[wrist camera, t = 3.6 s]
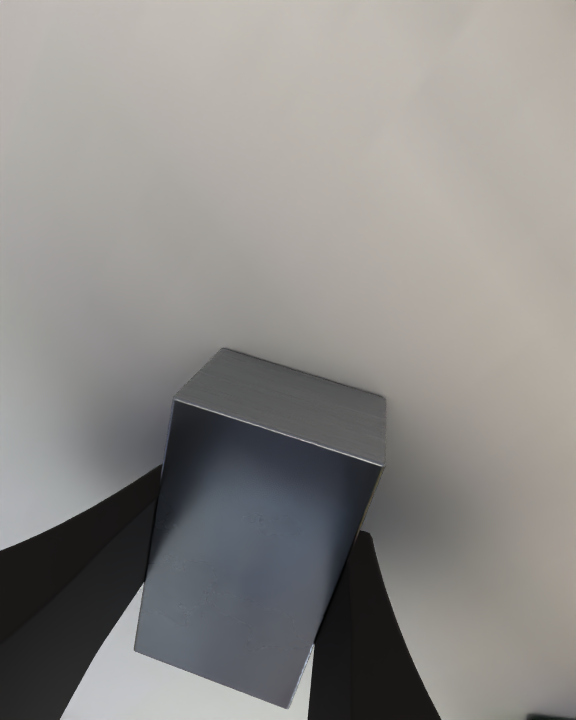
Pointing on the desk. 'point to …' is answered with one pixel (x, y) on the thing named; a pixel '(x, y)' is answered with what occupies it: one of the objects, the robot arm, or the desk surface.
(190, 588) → the gray metal box
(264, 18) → the desk surface
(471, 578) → the desk surface
